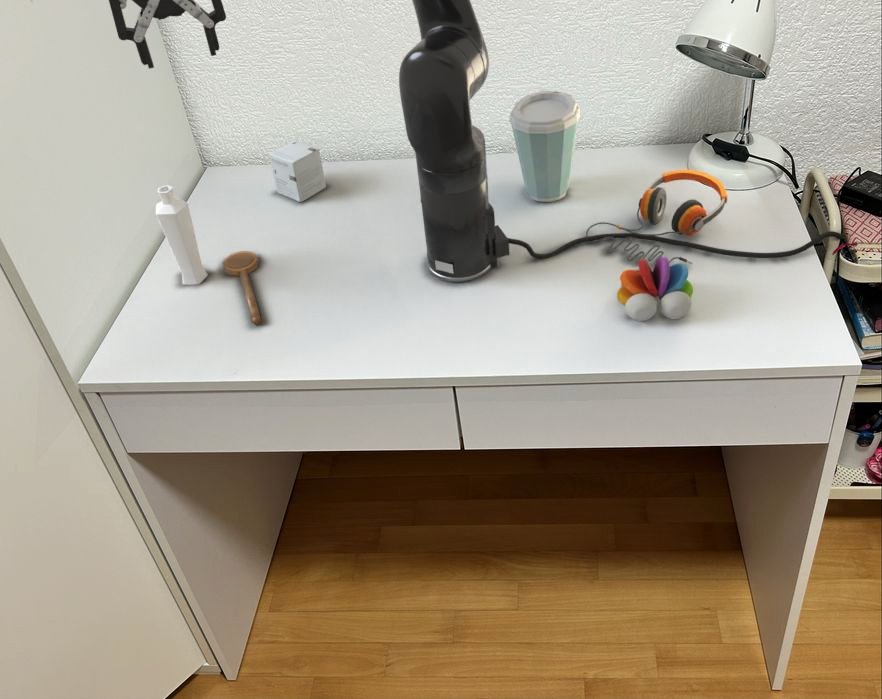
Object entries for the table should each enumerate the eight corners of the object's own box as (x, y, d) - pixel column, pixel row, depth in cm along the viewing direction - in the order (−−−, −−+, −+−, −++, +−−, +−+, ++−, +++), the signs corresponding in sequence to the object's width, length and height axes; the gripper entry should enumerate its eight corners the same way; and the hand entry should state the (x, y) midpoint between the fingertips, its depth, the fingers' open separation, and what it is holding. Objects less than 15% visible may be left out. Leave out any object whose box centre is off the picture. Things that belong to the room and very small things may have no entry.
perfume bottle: (213, 268, 130) (186, 179, 120) (205, 285, 127) (175, 196, 117) (184, 268, 131) (154, 180, 121) (175, 286, 127) (143, 197, 118)
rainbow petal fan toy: (612, 288, 118) (614, 243, 113) (685, 284, 117) (690, 238, 112) (620, 327, 111) (623, 281, 107) (697, 323, 111) (703, 277, 106)
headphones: (574, 226, 125) (655, 145, 132) (579, 252, 129) (657, 172, 136) (674, 269, 116) (756, 179, 122) (675, 295, 119) (755, 207, 126)
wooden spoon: (222, 260, 132) (220, 254, 131) (255, 252, 132) (254, 245, 132) (239, 331, 118) (237, 324, 117) (276, 321, 119) (275, 314, 118)
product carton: (276, 193, 146) (267, 153, 141) (303, 177, 149) (294, 138, 144) (301, 203, 143) (292, 163, 138) (327, 187, 146) (319, 147, 141)
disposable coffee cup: (561, 215, 133) (561, 124, 123) (499, 201, 138) (495, 112, 128) (590, 183, 139) (592, 94, 130) (530, 170, 144) (528, 84, 135)
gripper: (89, -48, 105) (131, 81, 115) (206, -69, 107) (237, 58, 118) (88, -63, 110) (128, 61, 121) (199, -83, 113) (230, 40, 123)
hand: (182, 60), depth 119 cm, fingers open, 8 cm apart
